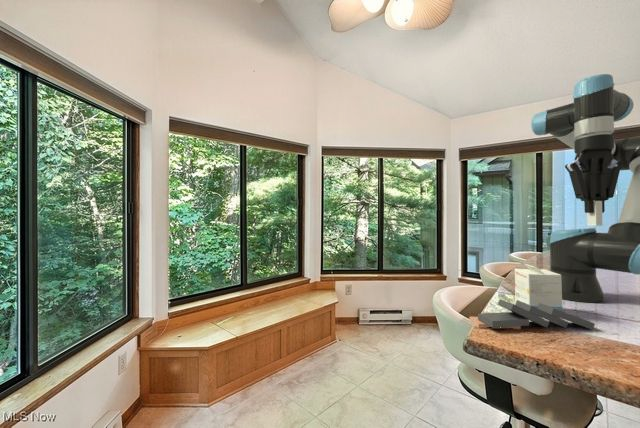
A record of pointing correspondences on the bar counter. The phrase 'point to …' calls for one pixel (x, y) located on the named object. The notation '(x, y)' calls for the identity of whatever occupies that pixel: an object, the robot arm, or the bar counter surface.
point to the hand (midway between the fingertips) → (594, 225)
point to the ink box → (538, 287)
